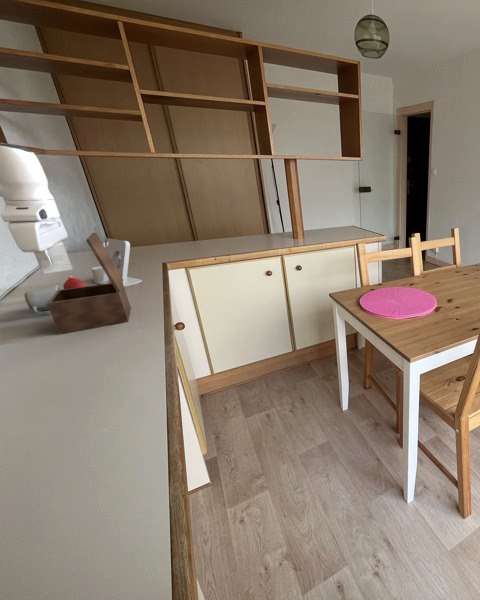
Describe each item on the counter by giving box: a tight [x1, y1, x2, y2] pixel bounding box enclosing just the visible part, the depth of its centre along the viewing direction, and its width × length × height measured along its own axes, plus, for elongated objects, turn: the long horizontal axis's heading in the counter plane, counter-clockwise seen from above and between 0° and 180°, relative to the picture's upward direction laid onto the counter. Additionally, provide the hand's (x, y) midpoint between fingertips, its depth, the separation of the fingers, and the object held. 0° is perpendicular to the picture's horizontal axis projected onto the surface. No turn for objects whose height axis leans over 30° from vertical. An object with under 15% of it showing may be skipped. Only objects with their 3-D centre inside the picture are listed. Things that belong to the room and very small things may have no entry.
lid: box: [85, 232, 123, 292], centre depth 97 cm, size 17×14×1 cm
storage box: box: [47, 283, 132, 335], centre depth 99 cm, size 16×14×10 cm
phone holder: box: [91, 237, 143, 288], centre depth 132 cm, size 17×10×18 cm, turn 67°
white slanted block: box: [34, 241, 74, 274], centre depth 87 cm, size 6×6×7 cm
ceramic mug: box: [24, 285, 62, 316], centre depth 105 cm, size 11×8×8 cm
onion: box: [62, 275, 87, 289], centre depth 118 cm, size 6×6×8 cm
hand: (54, 261), depth 88 cm, fingers closed on white slanted block, 7 cm apart
